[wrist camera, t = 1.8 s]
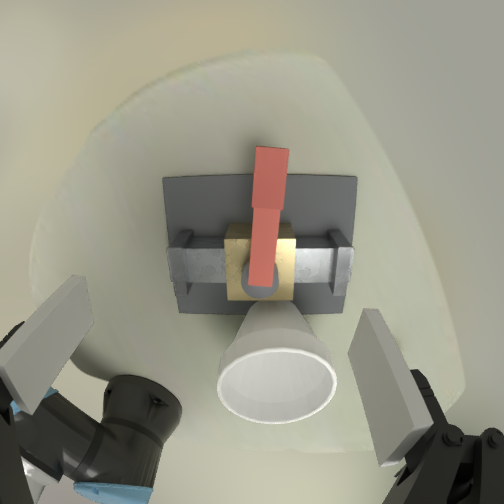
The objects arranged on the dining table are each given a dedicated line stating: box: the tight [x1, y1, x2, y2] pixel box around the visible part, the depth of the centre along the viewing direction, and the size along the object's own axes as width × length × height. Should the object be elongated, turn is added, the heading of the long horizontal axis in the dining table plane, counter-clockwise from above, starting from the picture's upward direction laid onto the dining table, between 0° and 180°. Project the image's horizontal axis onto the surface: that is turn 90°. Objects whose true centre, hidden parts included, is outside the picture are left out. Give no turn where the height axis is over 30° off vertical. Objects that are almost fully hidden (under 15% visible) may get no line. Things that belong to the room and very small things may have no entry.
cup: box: [216, 300, 337, 424], centre depth 34 cm, size 12×12×14 cm
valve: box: [167, 223, 354, 301], centre depth 33 cm, size 20×7×6 cm, turn 91°
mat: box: [163, 174, 358, 315], centre depth 36 cm, size 22×18×1 cm
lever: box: [241, 146, 289, 299], centre depth 27 cm, size 14×4×3 cm, turn 176°
